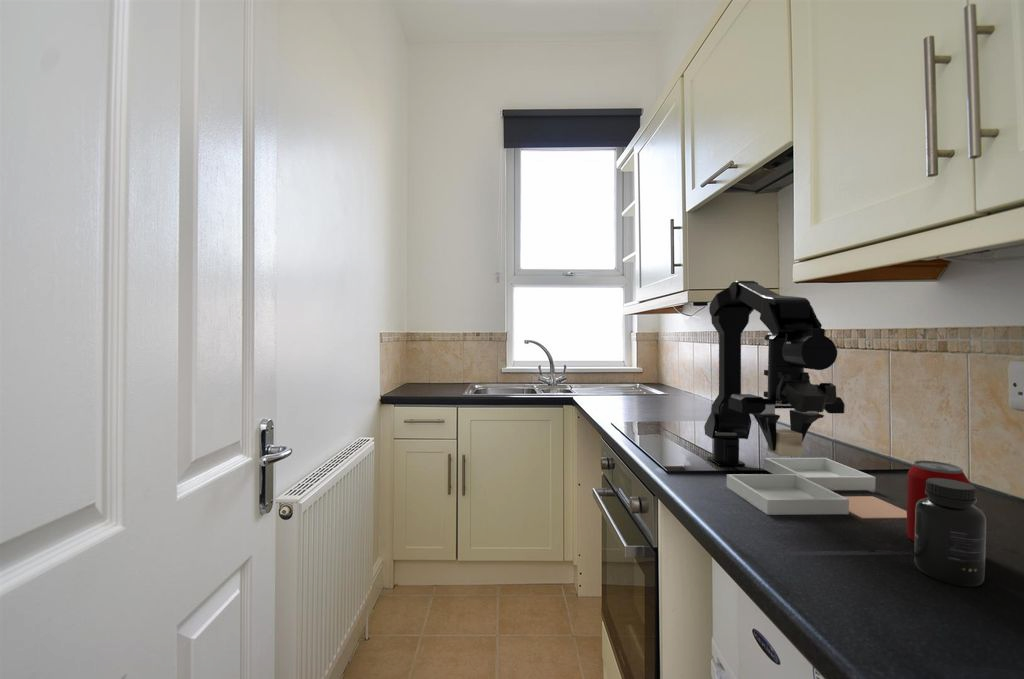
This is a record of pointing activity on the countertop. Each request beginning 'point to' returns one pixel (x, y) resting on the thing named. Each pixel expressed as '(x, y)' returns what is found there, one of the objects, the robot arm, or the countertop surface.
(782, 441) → the beech cube
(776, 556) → the countertop surface
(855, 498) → the tile
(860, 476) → the tray
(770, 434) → the robot arm
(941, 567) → the supplement bottle
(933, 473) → the beverage can
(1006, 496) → the countertop surface
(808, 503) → the tray
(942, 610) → the countertop surface
